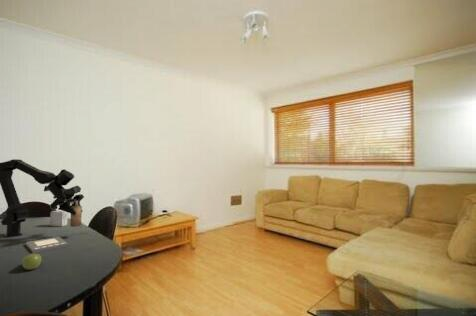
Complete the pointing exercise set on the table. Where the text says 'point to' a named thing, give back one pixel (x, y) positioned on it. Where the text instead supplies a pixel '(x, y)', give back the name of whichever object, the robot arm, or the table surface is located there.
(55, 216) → the medicine box
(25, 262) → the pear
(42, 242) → the grey flat block
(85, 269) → the table surface
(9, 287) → the table surface
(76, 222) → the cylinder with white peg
